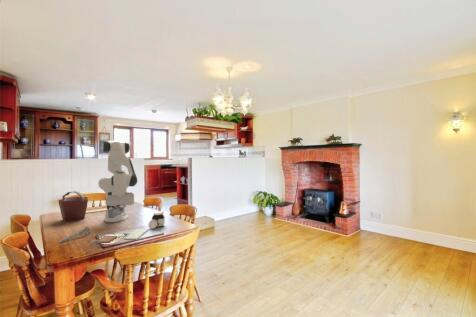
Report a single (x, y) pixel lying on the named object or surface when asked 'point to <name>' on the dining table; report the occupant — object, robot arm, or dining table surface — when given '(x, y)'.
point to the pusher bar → (115, 212)
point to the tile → (106, 239)
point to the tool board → (136, 234)
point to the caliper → (77, 234)
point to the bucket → (73, 207)
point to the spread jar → (157, 220)
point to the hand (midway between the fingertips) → (120, 210)
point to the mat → (100, 243)
